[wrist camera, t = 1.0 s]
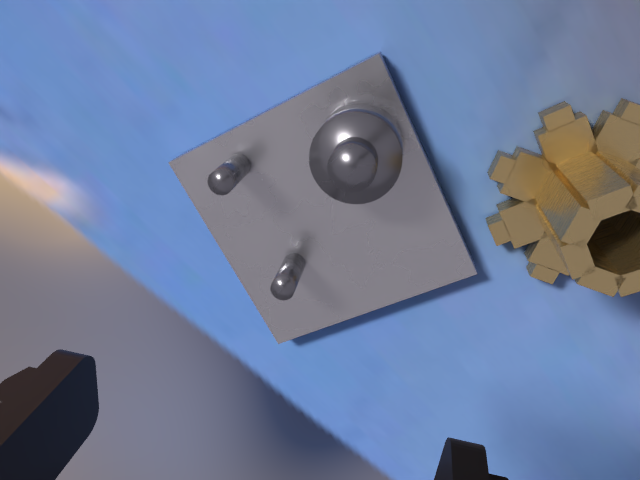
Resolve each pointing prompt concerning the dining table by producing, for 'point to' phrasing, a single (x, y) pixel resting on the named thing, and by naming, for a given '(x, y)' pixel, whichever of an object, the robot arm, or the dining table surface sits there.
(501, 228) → the planet gear
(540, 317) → the dining table surface
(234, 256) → the plate
